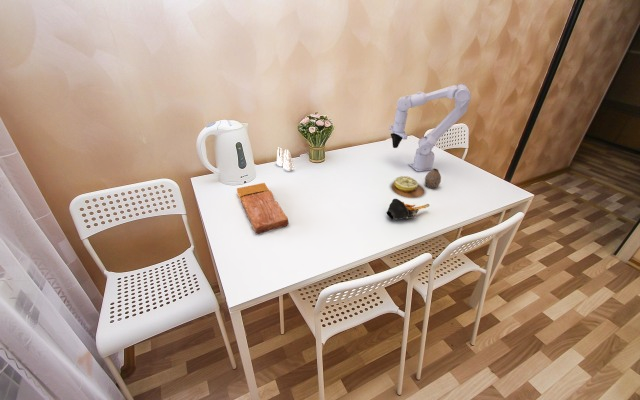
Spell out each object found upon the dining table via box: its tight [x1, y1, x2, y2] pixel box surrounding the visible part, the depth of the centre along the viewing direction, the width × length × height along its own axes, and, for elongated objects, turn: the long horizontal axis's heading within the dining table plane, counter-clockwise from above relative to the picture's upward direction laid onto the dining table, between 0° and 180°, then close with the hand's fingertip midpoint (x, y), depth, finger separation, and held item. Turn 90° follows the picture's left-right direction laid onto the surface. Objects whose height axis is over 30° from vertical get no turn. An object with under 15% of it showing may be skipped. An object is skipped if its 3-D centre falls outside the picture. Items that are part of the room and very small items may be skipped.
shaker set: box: [276, 146, 296, 172], centre depth 146 cm, size 12×4×11 cm, turn 38°
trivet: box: [391, 182, 425, 199], centre depth 135 cm, size 15×15×1 cm
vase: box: [424, 168, 442, 189], centre depth 136 cm, size 7×7×9 cm
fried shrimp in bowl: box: [386, 198, 430, 221], centre depth 116 cm, size 9×11×18 cm
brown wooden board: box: [236, 182, 289, 235], centre depth 117 cm, size 13×30×3 cm, turn 26°
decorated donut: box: [393, 175, 419, 192], centre depth 135 cm, size 10×11×4 cm
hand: (395, 147), depth 152 cm, fingers closed
